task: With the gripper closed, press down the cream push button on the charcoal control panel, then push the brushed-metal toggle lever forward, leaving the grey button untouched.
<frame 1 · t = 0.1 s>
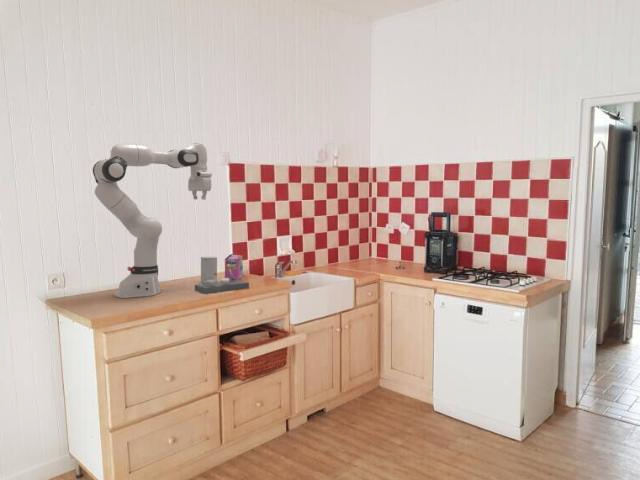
hand: (199, 199, 269), 48 cm above the countertop, fingers open, 8 cm apart
grey button: (211, 282, 256), point 5 cm above the countertop, slide at 0.0 cm
panel: (222, 289, 264), on the countertop
skincare box: (209, 282, 286), on the countertop
gum box: (234, 278, 299), on the countertop
lever: (230, 272, 272), point 8 cm above the countertop, hinge at -20.0°
cream button: (225, 280, 262), point 5 cm above the countertop, slide at 0.0 cm
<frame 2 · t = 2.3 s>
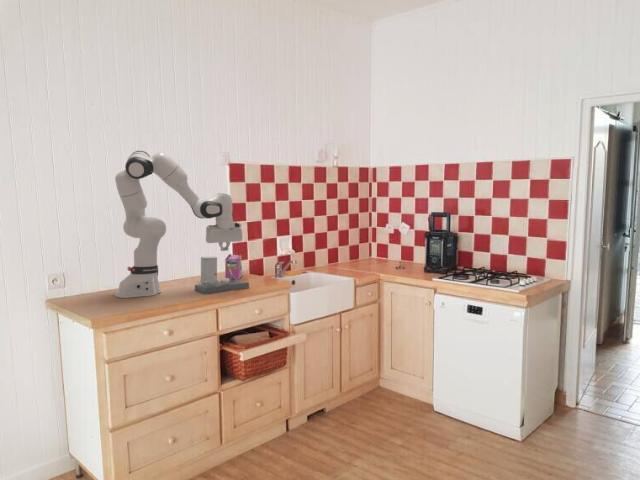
hand: (224, 250, 260), 21 cm above the countertop, fingers closed
nothing on the countertop moved.
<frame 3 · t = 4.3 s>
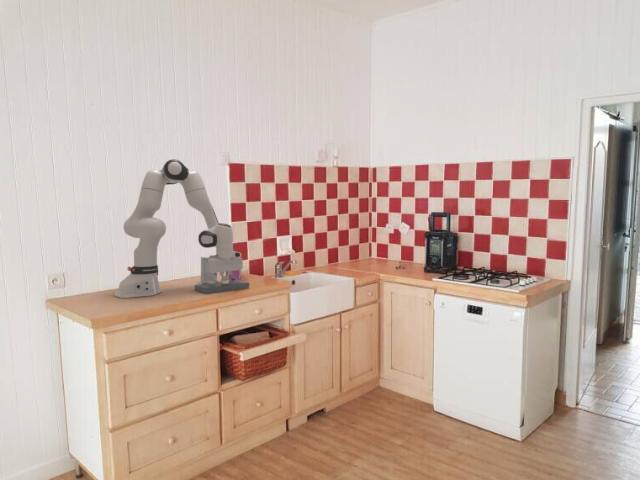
hand: (225, 279, 262), 5 cm above the countertop, fingers closed, pressing on cream button
cream button: (225, 281, 262), point 4 cm above the countertop, slide at 0.8 cm, touching gripper
everything else where it was.
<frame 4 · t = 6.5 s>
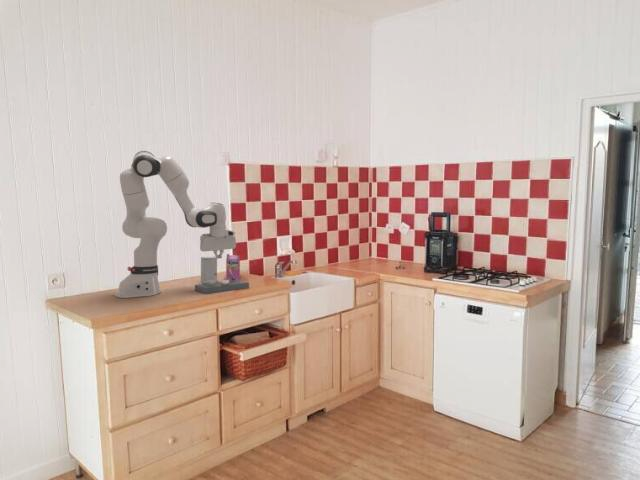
hand: (218, 258, 266), 16 cm above the countertop, fingers closed
cream button: (225, 282, 262), point 4 cm above the countertop, slide at 1.0 cm
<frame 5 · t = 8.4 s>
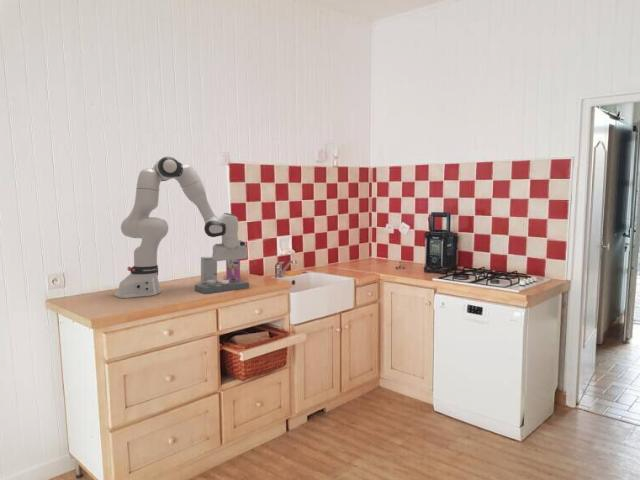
hand: (230, 267, 271), 10 cm above the countertop, fingers closed, pressing on lever
lever: (232, 271, 272), point 8 cm above the countertop, hinge at -1.3°, touching gripper
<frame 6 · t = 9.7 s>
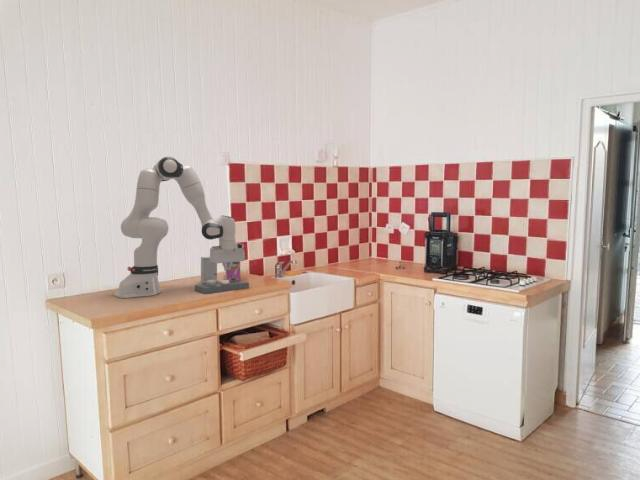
hand: (227, 270, 270), 9 cm above the countertop, fingers closed
lever: (235, 272, 274), point 8 cm above the countertop, hinge at 25.3°
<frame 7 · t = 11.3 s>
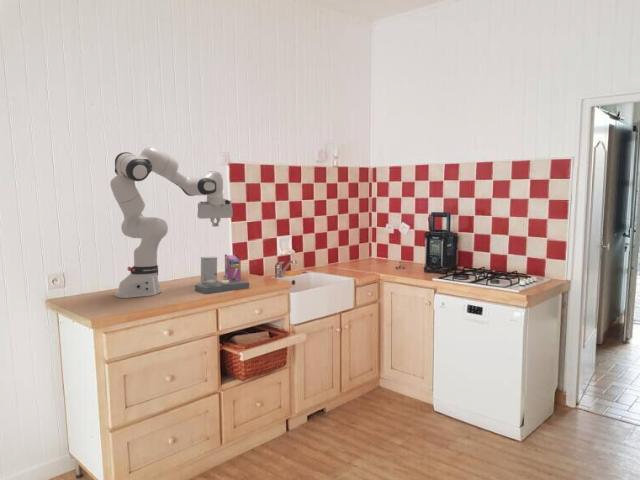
hand: (215, 226, 272), 33 cm above the countertop, fingers closed
lever: (235, 272, 274), point 8 cm above the countertop, hinge at 25.7°
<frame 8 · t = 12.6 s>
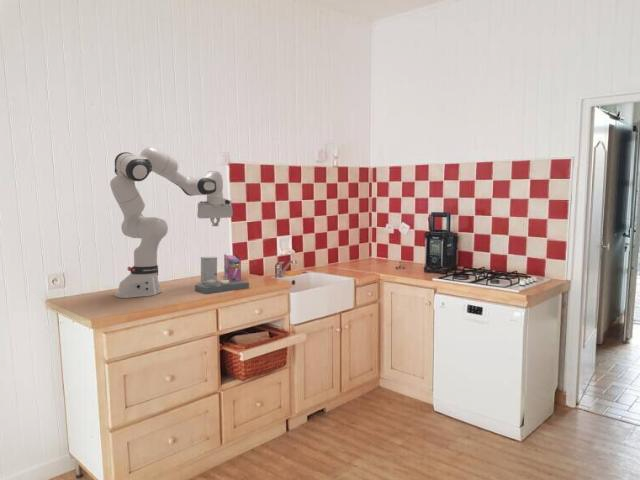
hand: (215, 226, 272), 33 cm above the countertop, fingers closed
at the end: cream button slide at 1.0 cm; lever at +26° (first picture: -20°); grey button slide at 0.0 cm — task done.
